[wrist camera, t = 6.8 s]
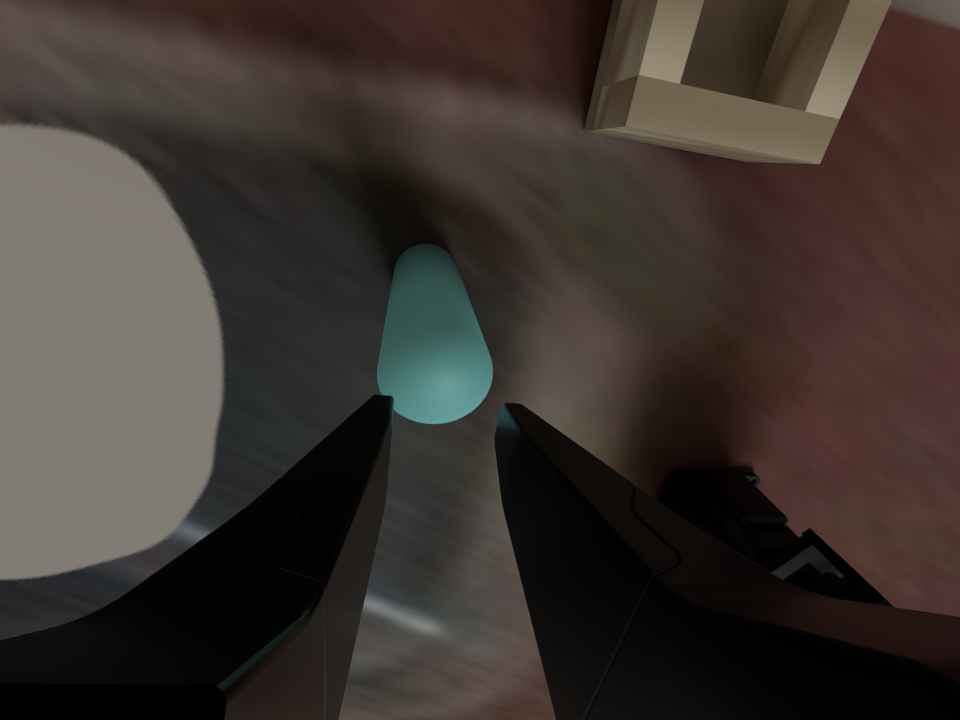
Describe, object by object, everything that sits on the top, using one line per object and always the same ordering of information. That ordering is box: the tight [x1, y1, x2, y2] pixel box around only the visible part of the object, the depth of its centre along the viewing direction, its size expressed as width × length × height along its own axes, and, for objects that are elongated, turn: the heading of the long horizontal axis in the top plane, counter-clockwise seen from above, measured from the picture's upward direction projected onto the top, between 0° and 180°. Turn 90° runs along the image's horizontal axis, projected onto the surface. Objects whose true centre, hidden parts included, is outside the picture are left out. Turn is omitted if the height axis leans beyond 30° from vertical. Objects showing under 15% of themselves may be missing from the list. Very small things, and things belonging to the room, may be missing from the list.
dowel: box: [377, 244, 493, 424], centre depth 16 cm, size 3×3×10 cm
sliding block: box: [584, 0, 892, 164], centre depth 15 cm, size 8×8×4 cm
